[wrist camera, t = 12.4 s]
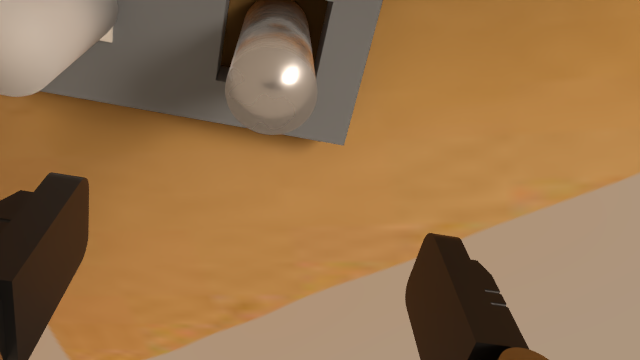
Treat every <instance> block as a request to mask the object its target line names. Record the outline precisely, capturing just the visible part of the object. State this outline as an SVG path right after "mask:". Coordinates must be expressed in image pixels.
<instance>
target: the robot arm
mask: <svg viewBox="0 0 640 360" xmlns="http://www.w3.org/2000/svg"><path fill="white" fill-rule="evenodd" d="M88 216H89V184H88V180H87V178H83V177H77V176H71V175H64V174H58V173H49V174H48V175H47V176H46V178H45V179H44V180H43V181H42V182H41V184H40V185H39V186H38V187H37V189H36V190H35V191H34V192H28V191H22V190H20V191H18V192H16V193H15V194H13V195H11V196H9V197H7V198H5V199H3V200H1V201H0V360H28V359H29V357H30V355H31V354H32V352H33V350H34V348H35V346H36V344H37V343H38V341H39V339H40V337H41V335H42V333H43V332H44V330H45V328H46V326H47V324H48V322H49V321H50V319H51V317H52V315H53V313H54V311H55V310H56V308H57V306H58V304H59V302H60V300H61V298H62V297H63V295H64V293H65V291H66V289H67V287H68V286H69V284H70V282H71V280H72V278H73V276H74V275H75V273H76V271H77V269H78V267H79V265H80V263H81V262H82V259H83V257H84V254H85V251H86V247H87V241H88ZM499 292H500V291H499V289H498V287H497V285H496V283H495V281H494V279H493V277H492V275H491V274H490V273H489V272H488V271H487V270H486V269H485V268H484V267H483V266H482V265H481V264H480V263H479V262H478V261H476V260H470V258H469V256H468V254H467V251H466V249H465V247H464V245H463V243H462V241H461V239H460V238H458V237H452V236H445V235H439V234H433V233H429V234H427V235H426V237H425V238H424V241H423V243H422V246H421V248H420V251H419V253H418V256H417V259H416V261H415V264H414V267H413V269H412V272H411V274H410V277H409V280H408V283H407V287H406V296H405V298H406V299H405V300H406V307H407V311H408V315H409V319H410V322H411V326H412V329H413V333H414V337H415V341H416V345H417V348H418V352H419V356H420V359H421V360H548V359H547V358H545V357H544V356H542V355H540V354H538V353H536V352H534V351H531V350H529V348H528V346H527V344H526V342H525V340H524V338H523V336H522V334H521V333H520V330H519V328H518V326H517V324H516V322H515V320H514V318H513V316H512V314H511V312H510V310H509V308H508V307H506V302H505V301H504V299H503V297H502V295H501V294H499Z"/></svg>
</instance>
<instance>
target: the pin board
mask: <svg viewBox="0 0 640 360" xmlns="http://www.w3.org/2000/svg"><path fill="white" fill-rule="evenodd" d="M229 1H230V0H0V94H1V95H5V96H12V97H21V96H28V95H31V94H34V93H36V92H38V91H42V92H48V93H53V94H59V95H64V96H70V97H76V98H81V99H87V100H92V101H98V102H104V103H109V104H115V105H120V106H126V107H132V108H137V109H143V110H148V111H154V112H159V113H165V114H171V115H176V116H182V117H187V118H193V119H199V120H204V121H210V122H215V123H221V124H227V125H232V126H238V127H243V128H247V127H245V126H244V125H242V124H241V123H240V122H239V121H238V120H237V119H236V118H235V117H234V115H233V114H232V113H231V111H230V109H229V107H228V104H227V101H226V96H225V84H226V79H227V76H228V72H229V69H230V68H229V67H224V66H221V60H222V52H223V45H224V38H225V30H226V23H227V15H228V8H229ZM327 1H328V4H327V8H326V13H325V17H324V22H323V26H322V31H321V35H320V40H319V44H318V49H317V53H316V58H315V62H314V69H315V76H316V83H317V101H316V104H315V107H314V110H313V112H312V113H311V115H310V117H309V118H308V119H307V120H306V121H305V122H304V123H303V124H302V125H301V126H299V127H298V128H296V129H294V130H292V131H290V132H287V133H284V134H283V135H288V136H294V137H299V138H305V139H311V140H316V141H322V142H327V143H333V144H339V145H344V143H345V139H346V135H347V132H348V128H349V124H350V120H351V117H352V113H353V109H354V106H355V102H356V98H357V94H358V91H359V87H360V83H361V80H362V76H363V72H364V68H365V65H366V61H367V57H368V53H369V50H370V46H371V42H372V39H373V35H374V31H375V27H376V24H377V20H378V16H379V13H380V9H381V5H382V1H383V0H327Z"/></svg>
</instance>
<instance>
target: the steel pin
mask: <svg viewBox="0 0 640 360" xmlns="http://www.w3.org/2000/svg"><path fill="white" fill-rule="evenodd" d="M225 96H226V101H227V104H228V107H229V109H230V111H231V113H232V114H233V115H234V117H235V118H236V119H237V120H238V121H239V122H240V123H241V124H242V125H244V126H245V127H247V128H248V129H250V130H252V131H255V132H257V133H261V134H267V135H278V134H284V133H287V132H290V131H292V130H294V129H296V128H298V127H299V126H301V125H302V124H303V123H304V122H305V121H306V120H307V119H308V118H309V117H310V115H311V113H312V112H313V110H314V107H315V104H316V101H317V83H316V76H315V69H314V62H313V55H312V48H311V40H310V33H309V26H308V21H307V18H306V15H305V13H304V11H303V10H302V9H301V7H300V6H299V5H298V4H297V3H295V2H294V1H293V0H258V1H256V2H255V3H254V4H253V5H252V6H251V7H250V8H249V10H248V12H247V13H246V16H245V19H244V22H243V26H242V29H241V32H240V36H239V39H238V42H237V46H236V49H235V52H234V56H233V59H232V62H231V66H230V69H229V72H228V76H227V79H226V84H225Z"/></svg>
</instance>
